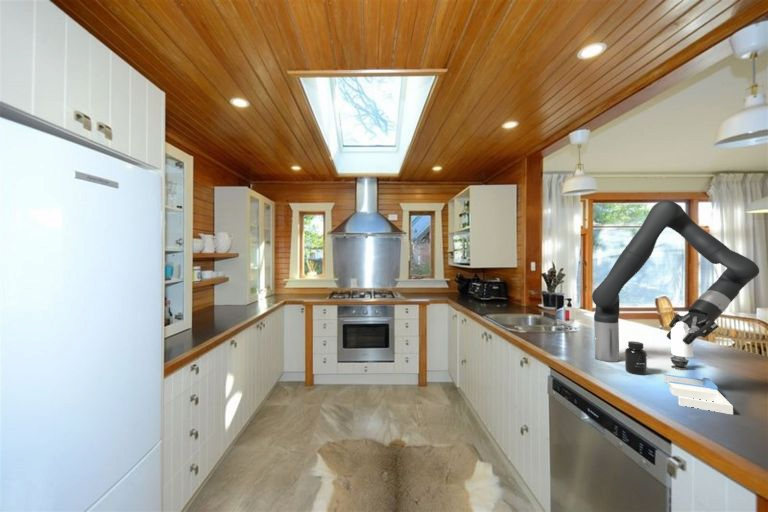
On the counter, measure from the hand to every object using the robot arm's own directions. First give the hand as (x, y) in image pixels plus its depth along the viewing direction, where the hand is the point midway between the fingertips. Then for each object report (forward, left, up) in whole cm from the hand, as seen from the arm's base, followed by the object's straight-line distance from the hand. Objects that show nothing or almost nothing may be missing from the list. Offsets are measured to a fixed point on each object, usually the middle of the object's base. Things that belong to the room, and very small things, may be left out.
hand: (677, 340), depth 114 cm
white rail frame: (+3, -6, -17) cm, 18 cm away
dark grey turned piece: (+6, +28, -17) cm, 33 cm away
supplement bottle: (-10, +13, -17) cm, 24 cm away
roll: (+1, +1, -6) cm, 6 cm away
